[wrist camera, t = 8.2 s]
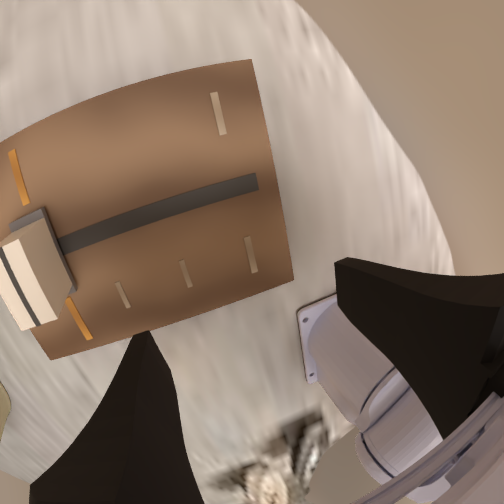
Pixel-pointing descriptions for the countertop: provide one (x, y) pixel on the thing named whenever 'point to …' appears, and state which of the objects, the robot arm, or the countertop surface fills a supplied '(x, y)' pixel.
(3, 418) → the can
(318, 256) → the countertop surface
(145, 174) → the board
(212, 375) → the countertop surface
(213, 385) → the countertop surface
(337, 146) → the countertop surface
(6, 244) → the fader
